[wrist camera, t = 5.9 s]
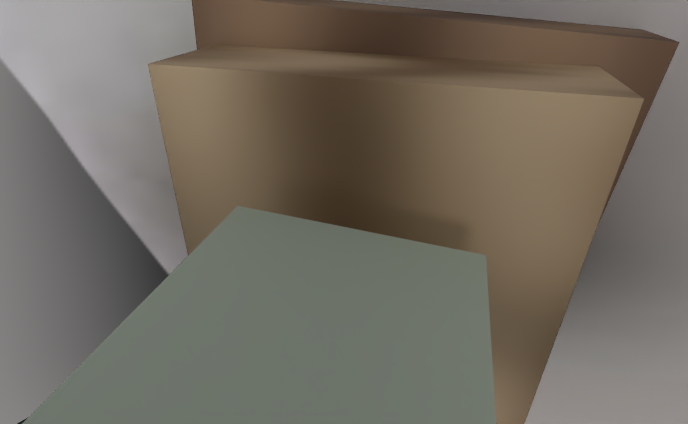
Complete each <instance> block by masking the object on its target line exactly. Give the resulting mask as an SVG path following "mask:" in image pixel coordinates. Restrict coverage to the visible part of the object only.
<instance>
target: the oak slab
mask: <svg viewBox="0 0 688 424" xmlns="http://www.w3.org/2000/svg"><path fill="white" fill-rule="evenodd" d="M148 67H149V72H150V77H151V81H152V86H153V91H154V96H155V100H156V105H157V110H158V115H159V119H160V124H161V129H162V133H163V138H164V143H165V148H166V152H167V157H168V162H169V167H170V171H171V176H172V181H173V186H174V190H175V195H176V200H177V205H178V209H179V214H180V219H181V224H182V228H183V233H184V238H185V243H186V247H187V252H188V256H189V255H190V254H191V253H192V252H193V251H194V250H195V249H196V248H197V247H198V246H199V245H200V244H201V242H202V241H203V240H204V239H205V238H206V237H207V236H208V235H209V234H210V233H211V232H212V231H213V230H214V229H215V228H216V227H217V226H218V225H219V224H220V223H221V222H222V221H223V220H224V219H225V218H226V217H227V216H228V215H229V214H230V213H231V212H232V211H233V210H234V209H235V208H236V207H237V206H242V207H247V208H252V209H257V210H262V211H267V212H272V213H277V214H282V215H287V216H292V217H297V218H302V219H307V220H312V221H317V222H322V223H327V224H332V225H337V226H342V227H347V228H352V229H357V230H362V231H367V232H372V233H377V234H382V235H387V236H392V237H397V238H402V239H407V240H412V241H417V242H422V243H427V244H433V245H438V246H443V247H448V248H453V249H458V250H463V251H468V252H473V253H478V254H483V255H486V263H487V280H488V297H489V313H490V330H491V347H492V364H493V381H494V398H495V415H496V424H524V423H525V420H526V418H527V415H528V412H529V410H530V407H531V404H532V401H533V399H534V396H535V393H536V391H537V388H538V385H539V382H540V380H541V377H542V374H543V372H544V369H545V366H546V363H547V361H548V358H549V355H550V353H551V350H552V347H553V345H554V342H555V339H556V336H557V334H558V331H559V328H560V326H561V323H562V320H563V317H564V315H565V312H566V309H567V307H568V304H569V301H570V298H571V296H572V293H573V290H574V288H575V285H576V282H577V279H578V277H579V274H580V271H581V269H582V266H583V263H584V260H585V258H586V255H587V252H588V250H589V247H590V244H591V242H592V239H593V236H594V233H595V231H596V228H597V225H598V223H599V220H600V217H601V214H602V212H603V209H604V206H605V204H606V201H607V198H608V195H609V193H610V190H611V187H612V185H613V182H614V179H615V176H616V174H617V171H618V168H619V166H620V163H621V160H622V157H623V155H624V152H625V149H626V147H627V144H628V141H629V139H630V136H631V133H632V130H633V128H634V125H635V122H636V120H637V117H638V114H639V111H640V109H641V106H642V103H643V101H644V98H643V97H641V96H640V95H638V94H637V93H636V92H634V91H633V90H631V89H630V88H629V87H627V86H626V85H624V84H623V83H621V82H620V81H619V80H617V79H616V78H614V77H613V76H612V75H610V74H609V73H607V72H606V71H605V70H603V69H602V68H600V67H597V66H579V65H562V64H544V63H527V62H509V61H491V60H474V59H456V58H438V57H421V56H403V55H386V54H368V53H350V52H333V51H315V50H298V49H280V48H262V47H245V46H227V45H213V46H210V47H206V48H202V49H199V50H195V51H192V52H188V53H185V54H181V55H178V56H174V57H171V58H167V59H164V60H160V61H156V62H153V63H149V64H148Z"/></svg>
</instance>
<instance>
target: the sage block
mask: <svg viewBox="0 0 688 424" xmlns="http://www.w3.org/2000/svg"><path fill="white" fill-rule="evenodd" d="M22 424H496V415H495V398H494V381H493V364H492V347H491V330H490V313H489V297H488V280H487V263H486V255H483V254H478V253H473V252H468V251H463V250H458V249H453V248H448V247H443V246H438V245H433V244H427V243H422V242H417V241H412V240H407V239H402V238H397V237H392V236H387V235H382V234H377V233H372V232H367V231H362V230H357V229H352V228H347V227H342V226H337V225H332V224H327V223H322V222H317V221H312V220H307V219H302V218H297V217H292V216H287V215H282V214H277V213H272V212H267V211H262V210H257V209H252V208H247V207H242V206H237V207H236V208H235V209H234V210H233V211H232V212H231V213H230V214H229V215H228V216H227V217H226V218H225V219H224V220H223V221H222V222H221V223H220V224H219V225H218V226H217V227H216V228H215V229H214V230H213V231H212V232H211V233H210V234H209V235H208V236H207V237H206V238H205V239H204V240H203V241H202V242H201V244H200V245H199V246H198V247H197V248H196V249H195V250H194V251H193V252H192V253H191V254H190V255H189V256H188V257H187V258H186V259H185V260H184V261H183V262H182V263H181V264H180V265H179V266H178V267H177V268H176V269H175V270H174V271H173V272H172V273H171V274H170V275H169V276H168V277H167V278H166V279H165V280H164V281H163V282H162V283H161V284H160V285H159V286H158V287H157V288H156V289H155V290H154V291H153V292H152V293H151V294H150V295H149V296H148V297H147V298H146V299H145V300H144V301H143V302H142V303H141V304H140V305H139V306H138V307H137V308H136V309H135V310H134V311H133V312H132V313H131V314H130V315H129V316H128V317H127V318H126V319H125V320H124V321H123V322H122V323H121V324H120V325H119V326H118V327H117V329H115V330H114V331H113V332H112V333H111V334H110V335H109V337H108V338H106V339H105V340H104V341H103V342H102V344H100V345H99V347H98V348H97V349H96V350H95V351H94V352H93V353H92V354H91V355H90V356H89V357H88V358H87V359H86V360H85V361H84V362H83V363H82V364H81V365H80V366H79V367H78V368H77V369H76V370H75V371H74V372H73V373H72V374H71V375H70V376H69V377H68V378H67V379H66V380H65V381H64V382H63V383H62V384H61V385H60V386H59V387H58V388H57V389H56V390H55V391H54V392H53V393H52V394H51V395H50V396H49V397H48V398H47V399H46V400H45V401H44V402H43V403H42V404H41V405H40V406H39V407H38V408H37V409H36V410H35V411H34V412H33V413H32V414H31V415H30V416H29V417H28V418H27V419H26V420H25V421H24V422H23V423H22Z"/></svg>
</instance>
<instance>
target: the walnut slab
mask: <svg viewBox="0 0 688 424" xmlns="http://www.w3.org/2000/svg"><path fill="white" fill-rule="evenodd" d="M192 7H193V16H194V26H195V35H196V44H197V50H199V49H202V48H206V47H210V46H213V45H227V46H245V47H262V48H280V49H298V50H315V51H333V52H350V53H368V54H386V55H403V56H421V57H438V58H456V59H474V60H491V61H509V62H527V63H544V64H562V65H579V66H597V67H600V68H602V69H603V70H605V71H606V72H607V73H609V74H610V75H612V76H613V77H614V78H616V79H617V80H619V81H620V82H621V83H623V84H624V85H626V86H627V87H629V88H630V89H631V90H633V91H634V92H636V93H637V94H638V95H640V96H641V97H643V98H644V101H643V103H642V106H641V109H640V111H639V114H638V117H637V120H636V122H635V125H634V128H633V130H632V133H631V136H630V139H629V141H628V144H627V147H626V149H625V152H624V155H623V157H622V160H621V163H620V166H619V168H618V171H617V174H616V176H615V179H614V182H613V185H612V187H611V190H610V193H609V195H608V198H607V201H606V204H605V206H604V209H603V212H604V210H605V208H606V205H607V203H608V201H609V199H610V196H611V194H612V192H613V190H614V187H615V185H616V183H617V181H618V178H619V176H620V174H621V172H622V169H623V167H624V165H625V163H626V160H627V158H628V156H629V154H630V152H631V149H632V147H633V145H634V143H635V140H636V138H637V136H638V134H639V131H640V129H641V127H642V125H643V122H644V120H645V118H646V116H647V113H648V111H649V109H650V107H651V105H652V102H653V100H654V98H655V96H656V93H657V91H658V89H659V87H660V84H661V82H662V80H663V78H664V75H665V73H666V71H667V69H668V66H669V64H670V62H671V60H672V58H673V55H674V53H675V51H676V49H677V46H678V44H679V42H677V41H674V40H671V39H668V38H665V37H662V36H659V35H656V34H653V33H650V32H647V31H644V30H639V29H629V28H618V27H608V26H597V25H587V24H576V23H565V22H555V21H544V20H534V19H523V18H513V17H502V16H492V15H481V14H470V13H460V12H449V11H439V10H428V9H418V8H407V7H397V6H386V5H375V4H365V3H354V2H344V1H333V0H192ZM603 212H602V214H603ZM602 214H601V216H602ZM600 219H601V217H600ZM599 221H600V220H599Z"/></svg>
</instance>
